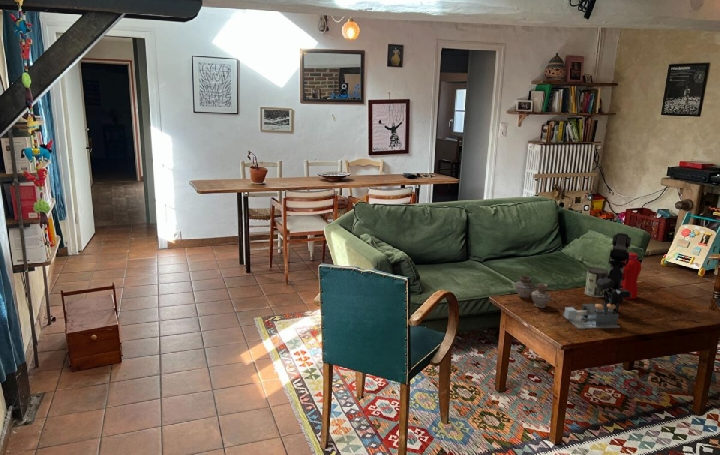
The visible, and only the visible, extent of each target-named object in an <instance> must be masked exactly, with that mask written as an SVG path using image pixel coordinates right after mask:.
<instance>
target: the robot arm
mask: <svg viewBox="0 0 720 455" xmlns="http://www.w3.org/2000/svg"><path fill="white" fill-rule="evenodd" d="M611 240H612V241H611V245H612V249H610V253H609V257H608V258H609V259H608V264H610V267H609V271H608V273H607V276H606V278H603V279H599V280H598V281H596V284H597V288H599V289H600V290H605V291H604V297H602V298H603V299H602V300H603V304H605V305H606V306H607V304H610V305H613V304H614V305H615V309H613V311H615V312H616V313H618V314H621V313H620V311H619V308H620V304H622V303H623V301H624V299H623V298H630V297H631V293H630V292H629V291H628V290H626V289H622V288H623V285H621V283H622V280H624V277H622V276H623V270H624V266H627V264H628V262H629V253H630V252H629V248H630V247H631V242H632V237H630V236H629V234H627V233H622V232H617V233H616V234H614V235H612V239H611ZM623 261H624V262H623ZM625 261H626V263H625Z"/></svg>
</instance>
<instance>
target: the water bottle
mask: <svg viewBox="0 0 720 455" xmlns="http://www.w3.org/2000/svg"><path fill="white" fill-rule="evenodd" d="M623 262H624V261H623ZM625 263H626V261H625ZM641 271H642V263H641V262H640V260H638V254H637V253H636V252H629V262H628V264H627V266H624V270H623V276H622V277H624V280H622V283H621V285H623V288H622V289H626V290H628V291H629V292H630V293H631V297H630V298H623V300H624V299H625V300H633V299H636V298H637V296H638V278H639V276H640V273H641Z"/></svg>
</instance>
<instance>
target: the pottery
mask: <svg viewBox="0 0 720 455" xmlns="http://www.w3.org/2000/svg"><path fill="white" fill-rule="evenodd" d="M513 287H514V289H515V291H516V293H518V296H519V297H521V298H524V299H525V298H526V299H528V298H530V296H531V299H532V301H533V302H534V304H533V305H535V306H536V308H538V307H539V308H540V309H544V307H545V308H546V305H547V304H548V303H550V300H551V298H552V295H551V294H550V293H549V292H548V291H547V289H548V284H547V283H541V282H539V283H537V285H536V284H535V283H533V282H532V277H531V276H528V275H520V276H519V281H516V282H514V286H513ZM536 288H537V289H536ZM535 306H534V307H535Z"/></svg>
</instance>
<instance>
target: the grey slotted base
mask: <svg viewBox="0 0 720 455" xmlns="http://www.w3.org/2000/svg"><path fill="white" fill-rule="evenodd" d="M595 304H596V303H583V304H582V308H581V310H587V309H588V310H589V312H588V316H587V315H578V316H576V319H567V318H566V317H565V316H564V313H562V314H561V315H562V317H564V318H565V319H566V320H567V321H569V322H570V323H571V324H572V325H573V326H574V325H575V326H574V327H575V328H577V329H578V330H585V329H586V330H587V329H588V330H589V329H618V328H620V327H621V326H620V325H618V322H619V321H618V320H619V316H620V315H619V314H618V313H616V312H615V311H613V313H608V307H607V306H606V305H605V304H604V303H600V304H601V305H603V306H604V308H603V309H601V313H598V314H597V313H596V309H597V308H595Z"/></svg>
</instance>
